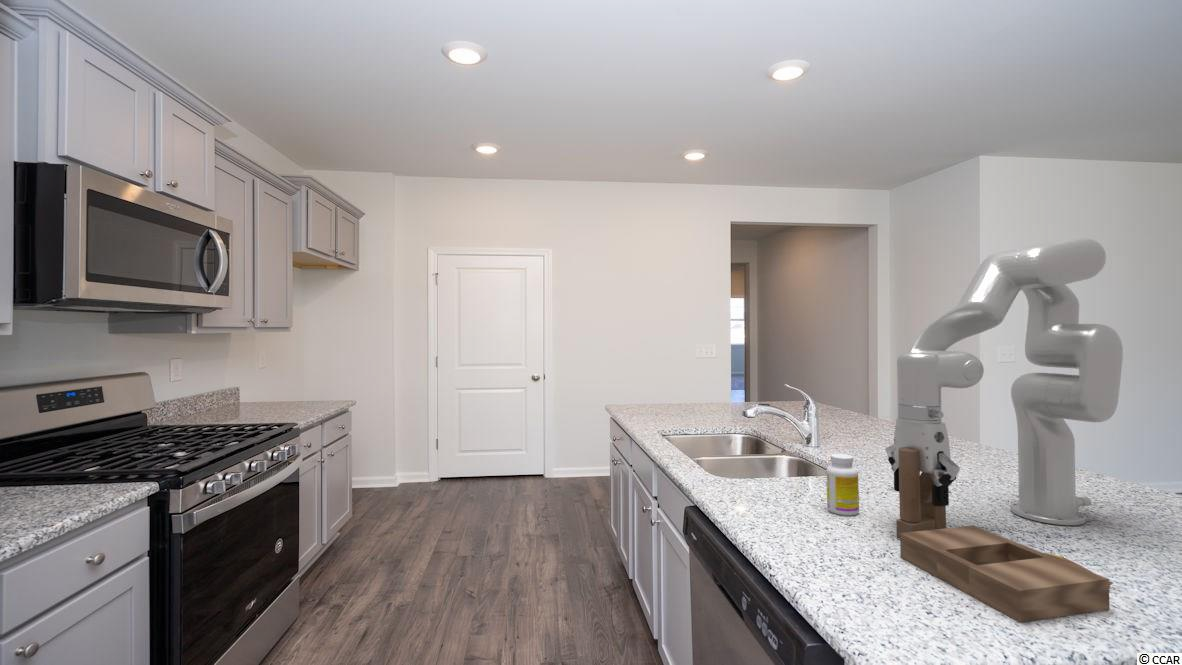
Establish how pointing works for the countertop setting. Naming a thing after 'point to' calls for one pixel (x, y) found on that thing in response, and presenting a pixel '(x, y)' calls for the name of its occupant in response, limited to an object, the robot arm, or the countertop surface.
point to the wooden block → (916, 496)
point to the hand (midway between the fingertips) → (920, 497)
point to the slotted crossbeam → (1006, 573)
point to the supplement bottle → (842, 486)
